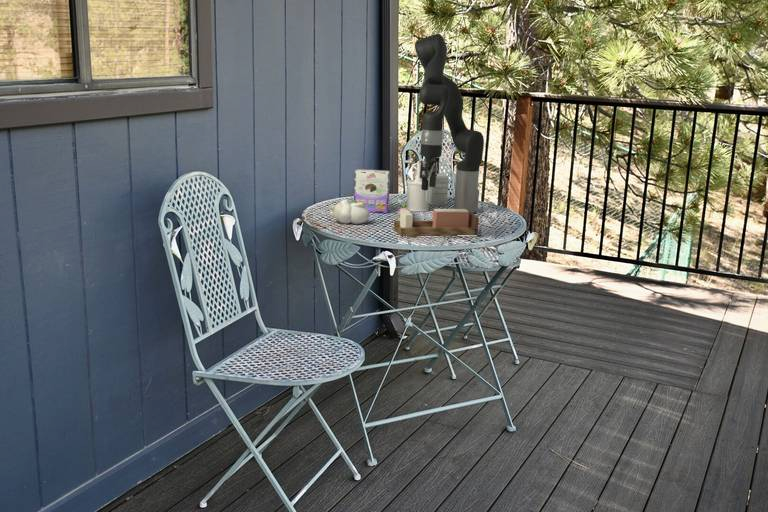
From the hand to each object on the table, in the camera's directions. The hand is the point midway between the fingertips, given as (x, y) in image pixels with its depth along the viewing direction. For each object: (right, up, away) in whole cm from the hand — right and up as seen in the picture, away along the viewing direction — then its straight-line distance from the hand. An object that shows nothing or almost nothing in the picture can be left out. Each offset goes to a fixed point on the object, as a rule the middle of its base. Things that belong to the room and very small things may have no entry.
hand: (428, 188), depth 287 cm
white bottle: (-2, -5, +44) cm, 44 cm away
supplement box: (+6, -2, +58) cm, 58 cm away
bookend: (-8, -14, +2) cm, 17 cm away
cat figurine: (-29, -12, +15) cm, 34 cm away
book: (+8, -14, +6) cm, 18 cm away
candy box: (-21, -6, +37) cm, 43 cm away
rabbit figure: (-8, -9, +29) cm, 31 cm away
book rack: (+3, -16, +5) cm, 17 cm away
